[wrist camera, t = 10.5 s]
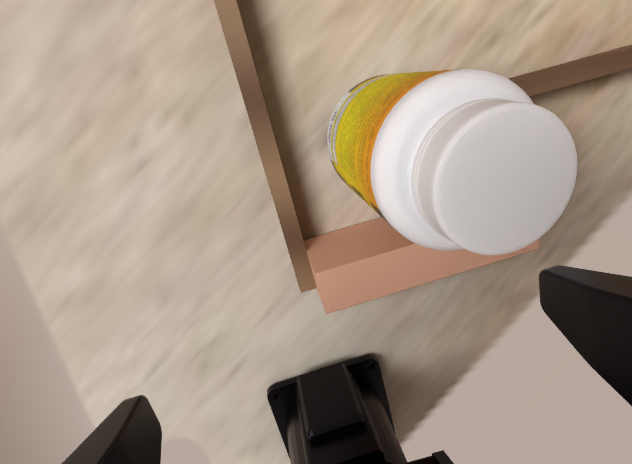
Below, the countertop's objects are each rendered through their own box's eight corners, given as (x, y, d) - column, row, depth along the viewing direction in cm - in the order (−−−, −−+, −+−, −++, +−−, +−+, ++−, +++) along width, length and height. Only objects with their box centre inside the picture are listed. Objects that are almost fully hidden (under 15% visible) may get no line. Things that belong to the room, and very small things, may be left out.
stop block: (490, 221, 22) (539, 248, 19) (312, 274, 22) (325, 313, 18) (487, 186, 22) (537, 207, 18) (302, 240, 21) (315, 273, 17)
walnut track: (658, 170, 23) (685, 176, 22) (297, 279, 22) (300, 292, 20) (682, -255, 17) (722, -286, 15) (173, -139, 15) (166, -162, 14)
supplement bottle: (310, 179, 20) (371, 263, 11) (343, 59, 19) (450, 30, 9) (414, 204, 21) (552, 299, 12) (453, 94, 20) (647, 102, 10)
